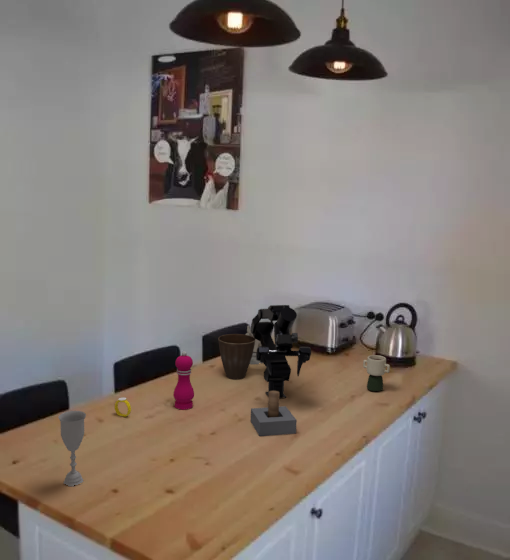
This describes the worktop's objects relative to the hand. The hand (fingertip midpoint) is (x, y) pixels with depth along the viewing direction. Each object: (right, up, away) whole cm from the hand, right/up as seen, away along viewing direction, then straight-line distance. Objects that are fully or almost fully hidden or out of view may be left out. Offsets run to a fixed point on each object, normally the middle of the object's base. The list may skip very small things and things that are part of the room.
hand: (284, 375), depth 207 cm
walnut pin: (-4, -14, -10) cm, 18 cm away
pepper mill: (-35, -12, +6) cm, 38 cm away
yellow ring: (-54, -13, -4) cm, 56 cm away
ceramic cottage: (-9, -3, +65) cm, 66 cm away
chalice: (-58, -20, -48) cm, 78 cm away
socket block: (-4, -15, -10) cm, 19 cm away
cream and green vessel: (+36, -10, +29) cm, 48 cm away
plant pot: (-18, -7, +40) cm, 44 cm away
